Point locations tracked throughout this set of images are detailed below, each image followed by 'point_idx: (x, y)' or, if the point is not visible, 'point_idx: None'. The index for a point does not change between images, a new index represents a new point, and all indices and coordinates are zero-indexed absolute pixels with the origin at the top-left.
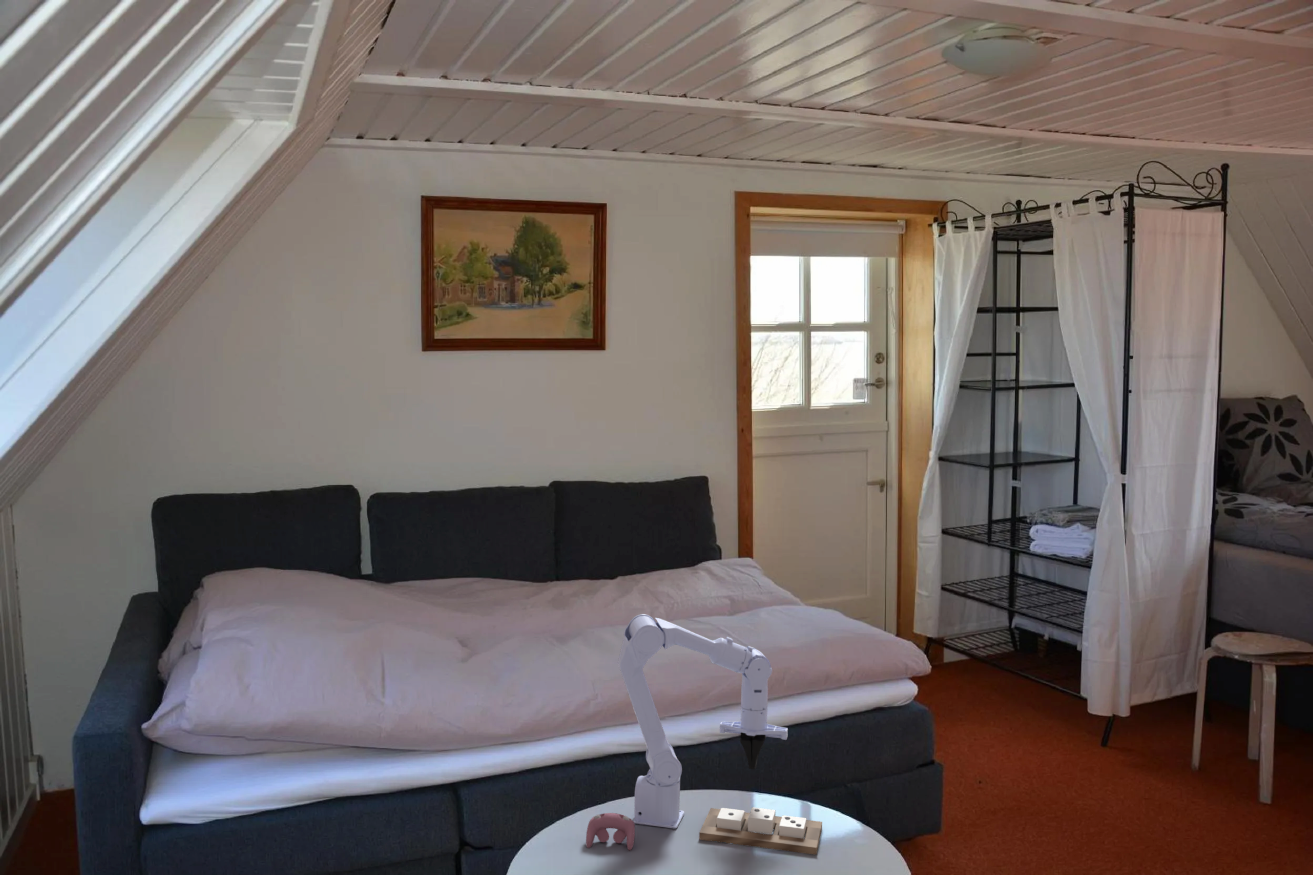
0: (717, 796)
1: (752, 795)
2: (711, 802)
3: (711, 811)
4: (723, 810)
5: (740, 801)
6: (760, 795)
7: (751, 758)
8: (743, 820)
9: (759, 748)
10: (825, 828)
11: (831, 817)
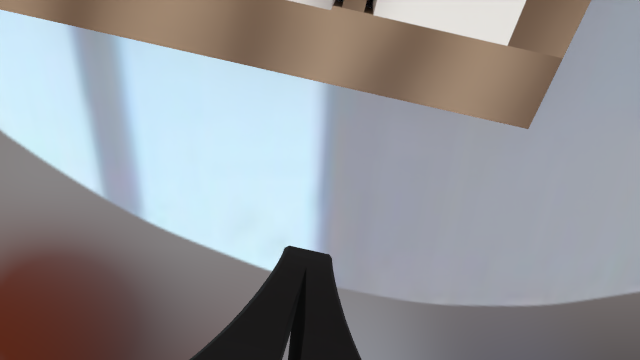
0: (453, 266)
1: None
2: (488, 222)
3: (533, 91)
4: (503, 7)
5: (368, 230)
6: None
7: (304, 308)
8: None
9: None
10: None
11: (9, 112)
